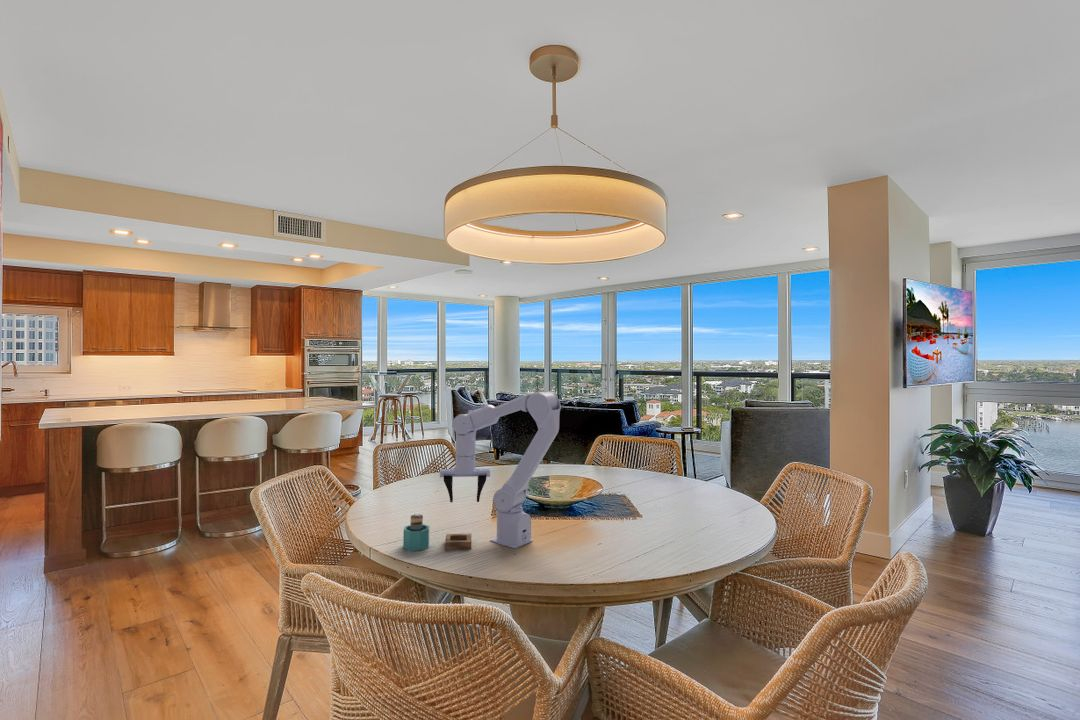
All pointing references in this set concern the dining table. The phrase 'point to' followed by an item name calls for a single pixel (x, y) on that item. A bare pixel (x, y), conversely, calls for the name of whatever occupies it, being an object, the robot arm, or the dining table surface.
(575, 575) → the dining table surface
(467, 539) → the block
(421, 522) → the cell
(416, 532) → the cup
